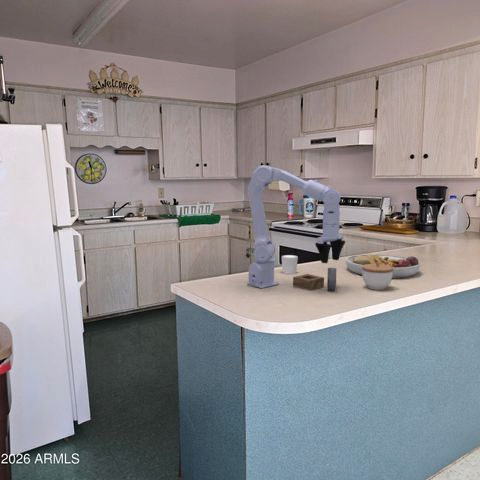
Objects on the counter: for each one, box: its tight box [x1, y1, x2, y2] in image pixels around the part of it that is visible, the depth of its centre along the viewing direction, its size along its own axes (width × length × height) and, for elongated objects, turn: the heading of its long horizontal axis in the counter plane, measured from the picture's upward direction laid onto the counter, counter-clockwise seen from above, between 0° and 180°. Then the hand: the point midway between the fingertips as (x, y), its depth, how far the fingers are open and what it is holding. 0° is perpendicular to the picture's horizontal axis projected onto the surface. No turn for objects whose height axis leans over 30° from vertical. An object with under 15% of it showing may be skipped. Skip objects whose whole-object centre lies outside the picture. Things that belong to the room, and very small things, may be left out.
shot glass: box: [281, 254, 299, 275], centre depth 177 cm, size 7×7×7 cm
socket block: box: [292, 273, 325, 291], centre depth 153 cm, size 8×8×4 cm
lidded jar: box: [361, 262, 393, 291], centre depth 151 cm, size 11×11×9 cm
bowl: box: [345, 253, 421, 279], centre depth 178 cm, size 30×30×8 cm
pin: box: [326, 267, 337, 293], centre depth 147 cm, size 3×3×8 cm
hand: (330, 261), depth 149 cm, fingers open, 7 cm apart
